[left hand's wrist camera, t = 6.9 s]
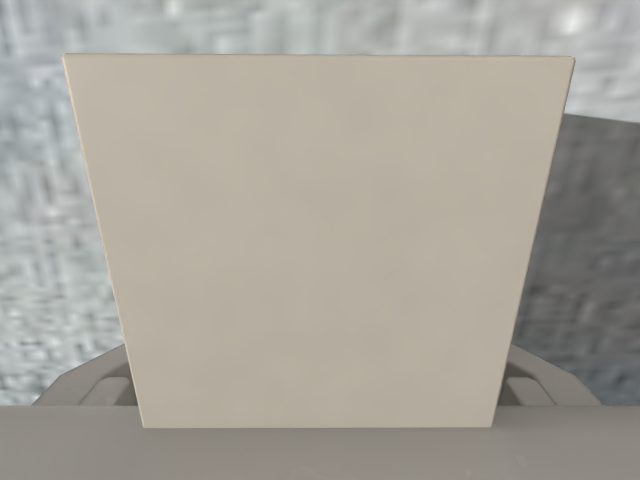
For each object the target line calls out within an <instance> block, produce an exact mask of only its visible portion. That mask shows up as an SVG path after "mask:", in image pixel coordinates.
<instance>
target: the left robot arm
mask: <svg viewBox="0 0 640 480" xmlns="http://www.w3.org/2000/svg"><path fill="white" fill-rule="evenodd" d="M0 480H640V406H604V405H603V404H602V403H601V402H600V401H599V400H598V399H597V398H596V397H595V396H594V395H593V393H592V392H591V391H590V390H589V389H588V388H587V387H586V386H585V385H584V384H583V383H582V382H581V381H580V380H579V379H578V378H577V376H575V375H573V374H571V373H569V372H567V371H565V370H563V369H561V368H559V367H557V366H555V365H553V364H551V363H549V362H547V361H545V360H543V359H541V358H539V357H537V356H535V355H533V354H531V353H529V352H527V351H525V350H523V349H521V348H519V347H517V346H515V345H513V344H511V347H510V351H509V356H508V360H507V364H506V369H505V373H504V378H503V382H502V386H501V391H500V395H499V400H498V404H497V408H496V413H495V417H494V422H493V426H492V427H470V428H143V424H142V420H141V415H140V411H139V406H138V402H137V397H136V393H135V388H134V384H133V379H132V375H131V370H130V366H129V361H128V357H127V352H126V348H125V343H124V344H122V345H120V346H118V347H116V348H114V349H112V350H110V351H108V352H106V353H104V354H102V355H100V356H98V357H96V358H94V359H92V360H90V361H88V362H86V363H84V364H82V365H80V366H78V367H76V368H74V369H72V370H70V371H68V372H66V373H64V374H62V375H60V376H59V377H58V378H57V379H56V380H55V381H54V382H53V383H52V384H51V385H50V386H49V388H48V389H47V390H46V391H45V392H44V393H43V394H42V395H41V396H40V397H39V398H38V399H37V400H36V401H35V402H34V403H33V404H32V405H31V406H0Z"/></svg>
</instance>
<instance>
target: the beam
mask: <svg viewBox="0 0 640 480" xmlns="http://www.w3.org/2000/svg"><path fill="white" fill-rule="evenodd" d="M62 64H63V68H64V73H65V77H66V82H67V86H68V91H69V95H70V100H71V104H72V109H73V113H74V118H75V122H76V127H77V131H78V136H79V140H80V145H81V149H82V154H83V158H84V163H85V167H86V172H87V176H88V181H89V185H90V190H91V194H92V199H93V204H94V208H95V213H96V217H97V222H98V226H99V231H100V235H101V240H102V244H103V249H104V253H105V258H106V262H107V267H108V271H109V276H110V280H111V285H112V289H113V294H114V298H115V303H116V307H117V312H118V316H119V321H120V325H121V330H122V334H123V339H124V343H125V348H126V352H127V357H128V361H129V366H130V370H131V375H132V379H133V384H134V388H135V393H136V397H137V402H138V406H139V411H140V415H141V420H142V424H143V428H470V427H492V426H493V422H494V417H495V413H496V408H497V404H498V400H499V395H500V391H501V386H502V382H503V378H504V373H505V369H506V364H507V360H508V356H509V351H510V347H511V342H512V338H513V334H514V329H515V325H516V321H517V316H518V312H519V307H520V303H521V299H522V294H523V290H524V285H525V281H526V277H527V272H528V268H529V263H530V259H531V255H532V250H533V246H534V241H535V237H536V233H537V228H538V224H539V219H540V215H541V211H542V206H543V202H544V197H545V193H546V189H547V184H548V180H549V176H550V171H551V167H552V162H553V158H554V154H555V149H556V145H557V140H558V136H559V132H560V127H561V123H562V118H563V114H564V110H565V105H566V101H567V96H568V92H569V88H570V83H571V79H572V74H573V70H574V66H575V58H573V57H571V56H469V55H285V54H100V53H66V54H64V55H62Z"/></svg>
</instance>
